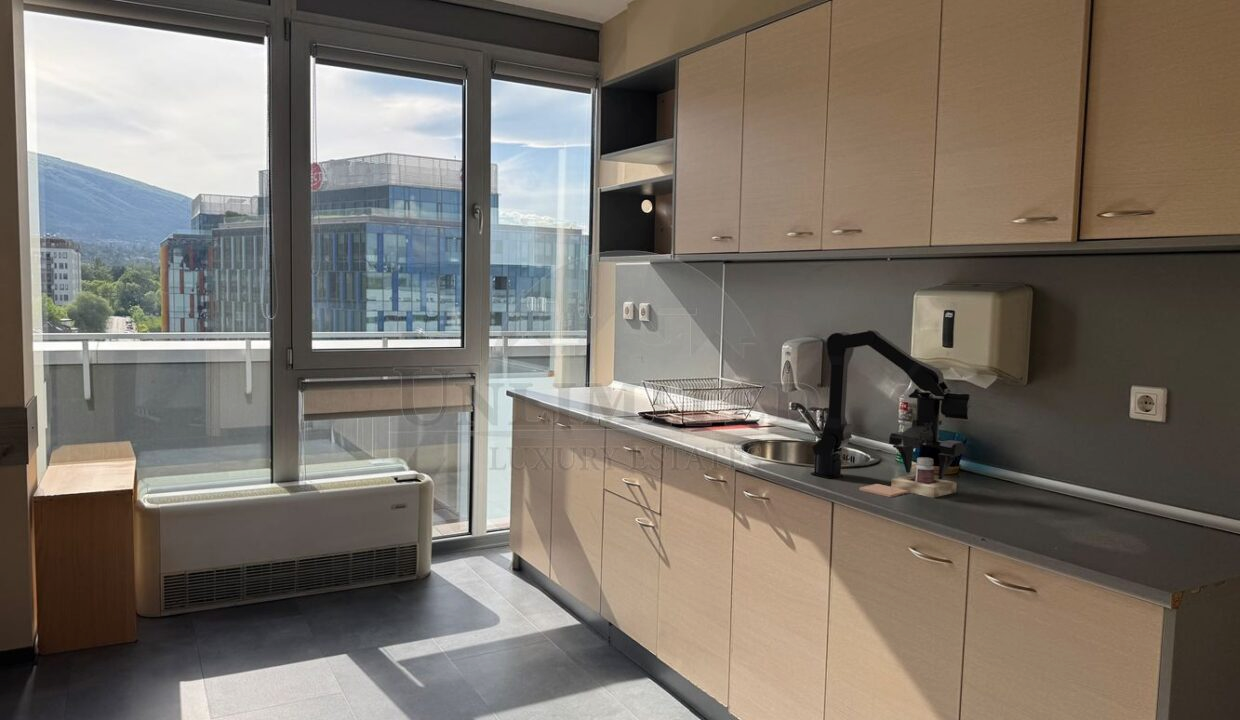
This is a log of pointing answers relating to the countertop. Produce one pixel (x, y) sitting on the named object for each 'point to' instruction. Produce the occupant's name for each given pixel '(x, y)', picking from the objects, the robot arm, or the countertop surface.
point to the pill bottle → (924, 470)
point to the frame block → (924, 486)
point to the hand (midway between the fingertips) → (924, 475)
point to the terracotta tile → (883, 490)
